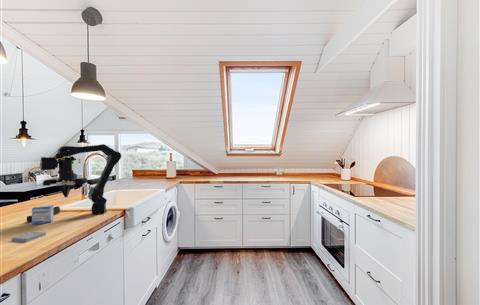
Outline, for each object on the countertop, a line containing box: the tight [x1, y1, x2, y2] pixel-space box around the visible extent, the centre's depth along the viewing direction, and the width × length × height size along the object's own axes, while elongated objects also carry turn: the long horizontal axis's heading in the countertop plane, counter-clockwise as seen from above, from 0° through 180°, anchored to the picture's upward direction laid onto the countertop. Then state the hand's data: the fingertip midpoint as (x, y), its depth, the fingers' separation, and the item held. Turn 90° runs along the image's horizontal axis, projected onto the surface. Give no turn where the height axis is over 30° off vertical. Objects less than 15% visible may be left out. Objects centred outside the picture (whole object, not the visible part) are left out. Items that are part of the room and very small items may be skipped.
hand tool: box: [26, 205, 61, 224], centre depth 127 cm, size 19×4×5 cm, turn 175°
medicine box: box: [31, 204, 55, 226], centre depth 117 cm, size 8×4×9 cm, turn 117°
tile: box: [11, 230, 47, 243], centre depth 97 cm, size 2×8×8 cm
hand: (66, 197), depth 121 cm, fingers closed
